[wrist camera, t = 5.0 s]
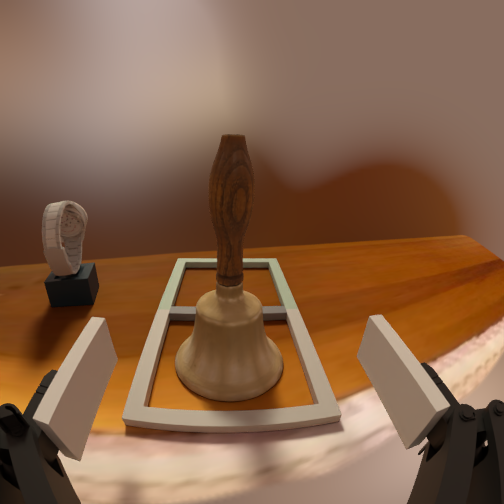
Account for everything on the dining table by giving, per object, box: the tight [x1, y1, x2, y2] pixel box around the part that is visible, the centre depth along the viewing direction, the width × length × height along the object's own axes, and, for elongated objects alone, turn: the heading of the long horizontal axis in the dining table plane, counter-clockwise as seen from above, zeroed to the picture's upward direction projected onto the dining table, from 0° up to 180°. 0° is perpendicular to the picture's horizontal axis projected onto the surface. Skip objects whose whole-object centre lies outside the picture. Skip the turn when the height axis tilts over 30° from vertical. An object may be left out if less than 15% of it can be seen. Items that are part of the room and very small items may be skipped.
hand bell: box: [175, 134, 283, 402], centre depth 17 cm, size 8×8×16 cm
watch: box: [42, 201, 99, 307], centre depth 25 cm, size 6×8×11 cm
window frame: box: [122, 258, 342, 433], centre depth 25 cm, size 13×26×1 cm, turn 5°
